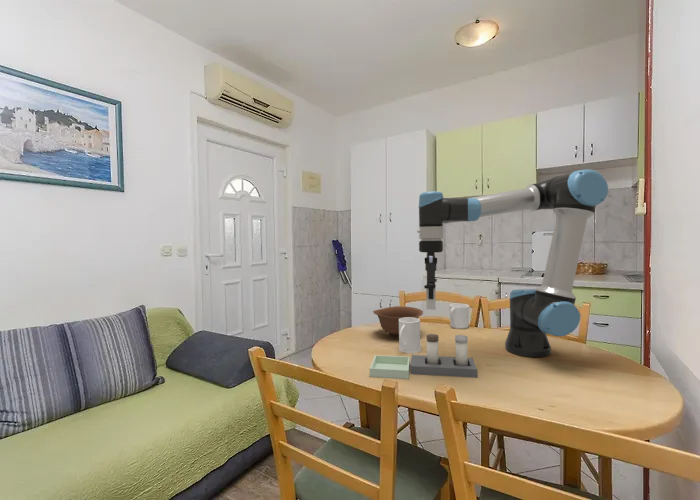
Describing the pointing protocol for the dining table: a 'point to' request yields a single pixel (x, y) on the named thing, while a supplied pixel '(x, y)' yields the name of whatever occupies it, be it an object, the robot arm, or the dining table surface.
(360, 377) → the dining table surface
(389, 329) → the bowl
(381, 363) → the tray
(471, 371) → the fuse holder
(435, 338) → the cylinder
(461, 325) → the mug
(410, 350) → the mug
